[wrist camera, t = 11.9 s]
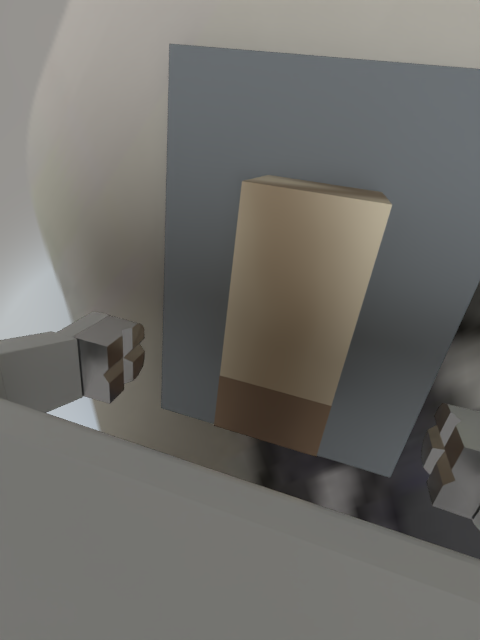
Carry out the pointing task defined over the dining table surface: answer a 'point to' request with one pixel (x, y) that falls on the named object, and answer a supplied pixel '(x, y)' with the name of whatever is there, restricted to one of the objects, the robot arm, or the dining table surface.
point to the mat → (337, 169)
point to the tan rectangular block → (294, 304)
